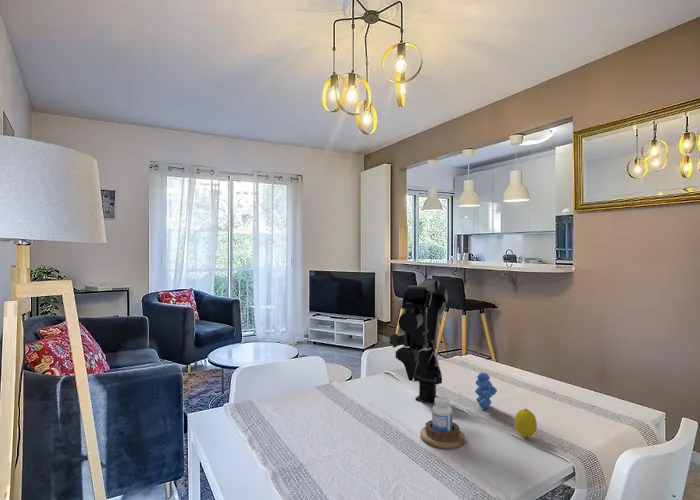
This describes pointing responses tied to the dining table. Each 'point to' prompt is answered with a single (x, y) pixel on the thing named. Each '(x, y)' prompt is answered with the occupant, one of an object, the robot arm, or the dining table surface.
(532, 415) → the lemon
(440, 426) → the pill bottle
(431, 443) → the socket
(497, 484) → the dining table surface
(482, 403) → the grapes
